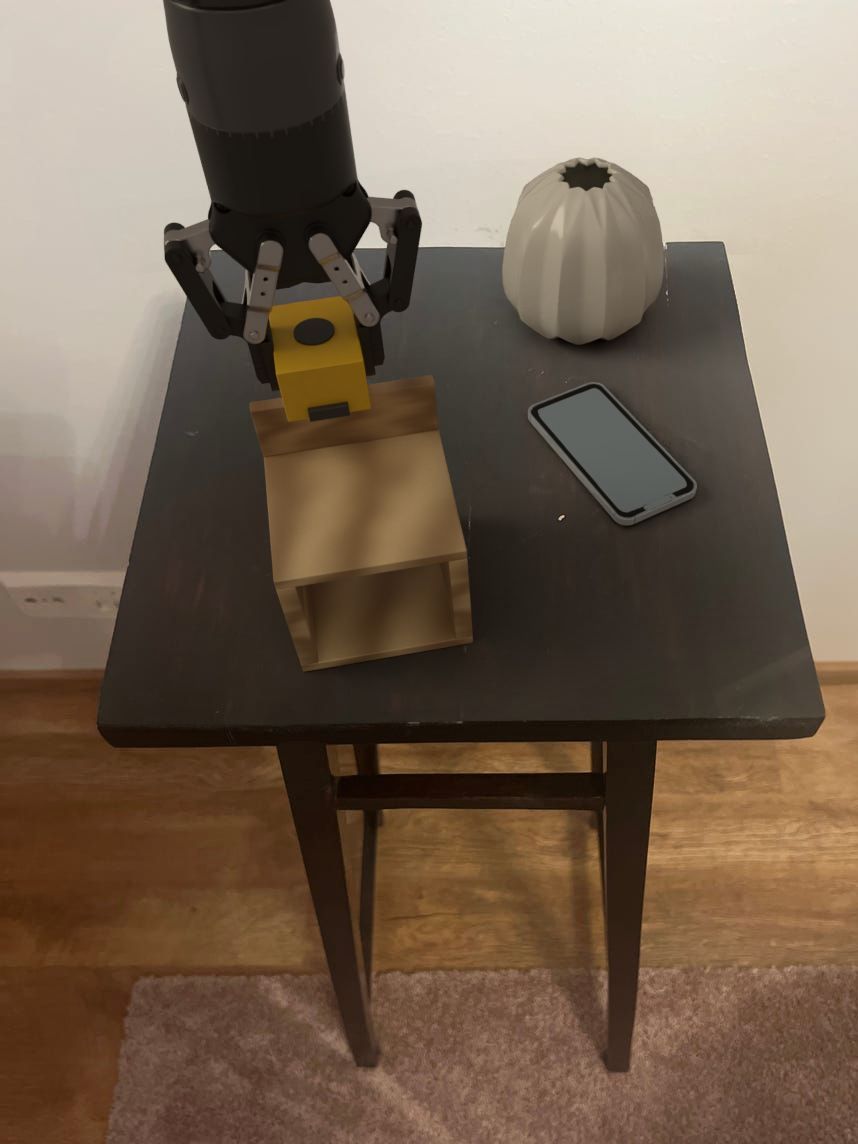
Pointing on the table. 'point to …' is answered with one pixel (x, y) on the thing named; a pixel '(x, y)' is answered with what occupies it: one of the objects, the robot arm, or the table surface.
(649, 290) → the vase
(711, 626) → the table surface
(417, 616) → the shelf
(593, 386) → the smartphone
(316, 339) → the measuring tape
